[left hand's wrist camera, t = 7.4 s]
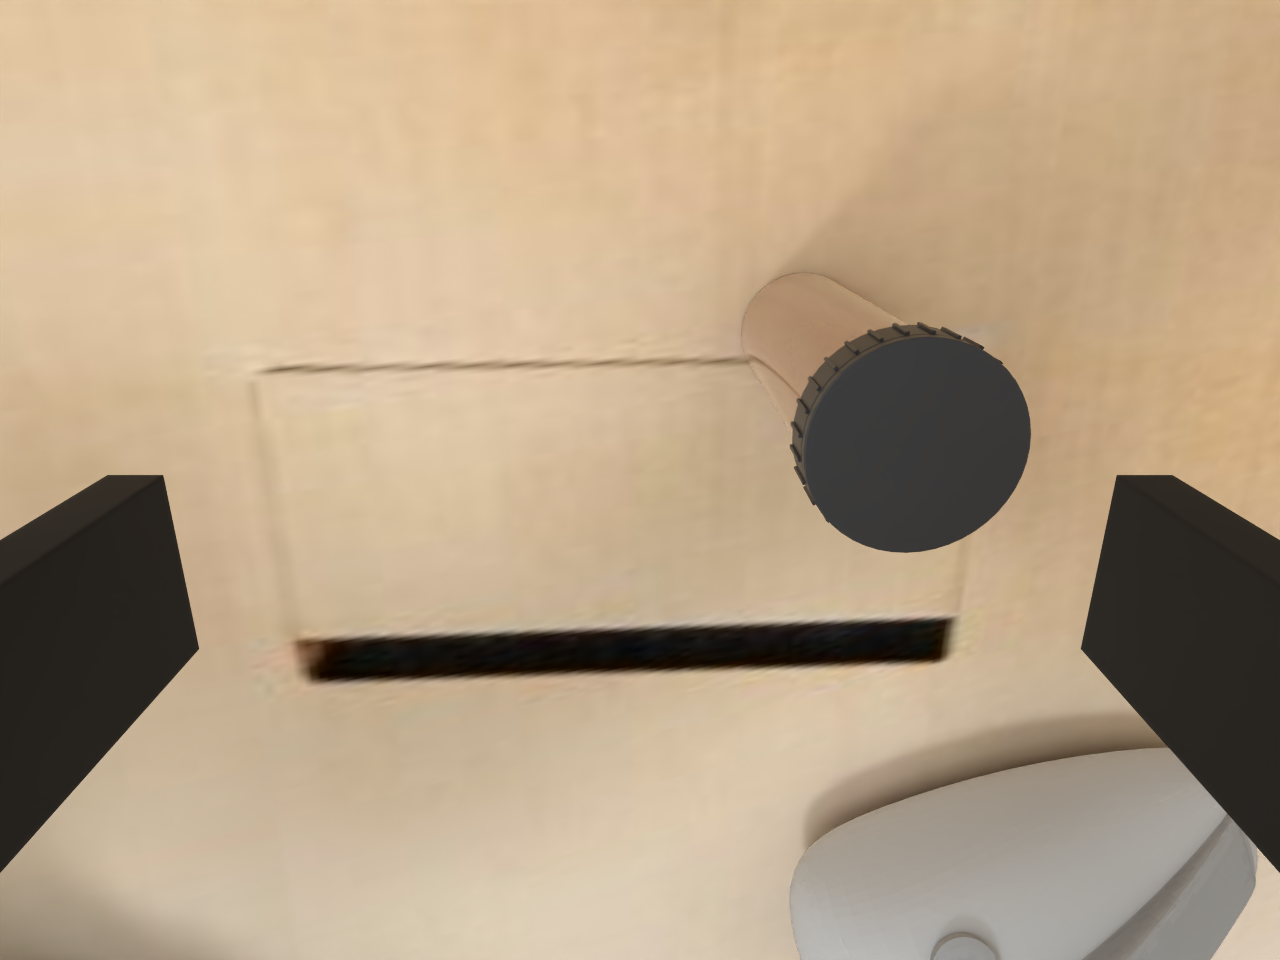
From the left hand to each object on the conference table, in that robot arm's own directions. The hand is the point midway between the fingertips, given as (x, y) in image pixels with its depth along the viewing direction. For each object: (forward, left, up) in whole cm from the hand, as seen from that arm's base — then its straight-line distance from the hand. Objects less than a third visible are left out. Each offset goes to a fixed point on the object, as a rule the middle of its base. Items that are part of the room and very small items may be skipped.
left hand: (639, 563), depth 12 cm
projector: (-13, -34, -26) cm, 45 cm away
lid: (+3, -7, -10) cm, 13 cm away
